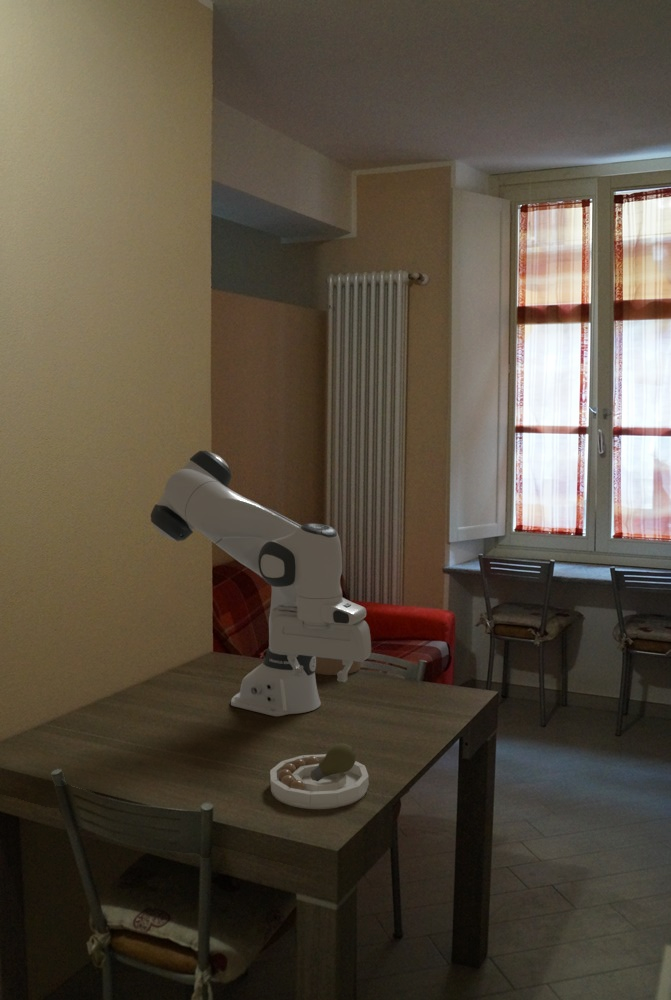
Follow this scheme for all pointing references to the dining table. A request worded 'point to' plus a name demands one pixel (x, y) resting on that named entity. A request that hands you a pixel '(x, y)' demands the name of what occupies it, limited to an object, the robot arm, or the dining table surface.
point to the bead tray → (316, 784)
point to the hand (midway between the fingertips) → (320, 678)
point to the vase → (333, 666)
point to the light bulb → (335, 762)
